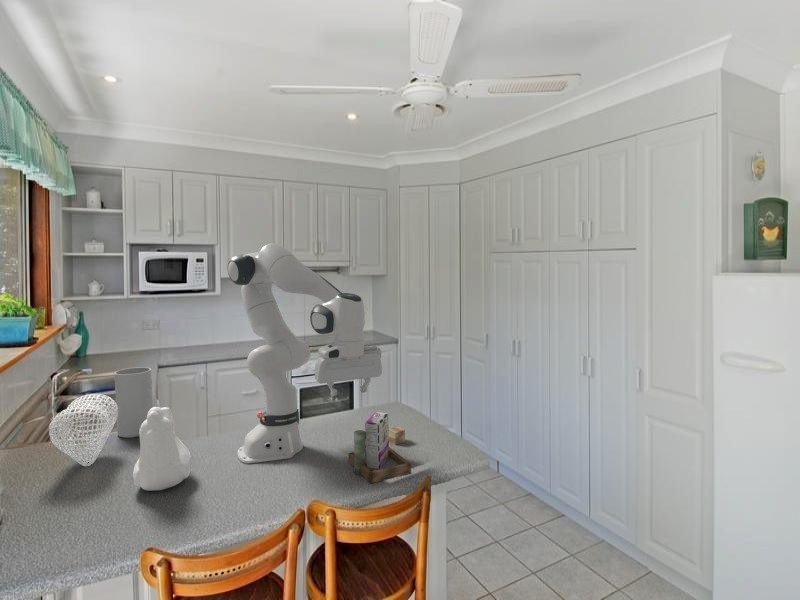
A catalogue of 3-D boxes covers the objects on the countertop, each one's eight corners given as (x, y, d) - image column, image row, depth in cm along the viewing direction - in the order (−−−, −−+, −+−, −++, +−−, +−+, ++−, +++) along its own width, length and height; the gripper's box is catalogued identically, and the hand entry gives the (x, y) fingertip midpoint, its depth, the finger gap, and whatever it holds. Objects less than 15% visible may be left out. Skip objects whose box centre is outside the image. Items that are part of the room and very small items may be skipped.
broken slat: (368, 454, 160) (368, 449, 160) (364, 450, 164) (364, 445, 163) (406, 445, 167) (406, 441, 167) (401, 442, 171) (401, 438, 170)
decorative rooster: (179, 498, 131) (175, 413, 129) (121, 501, 129) (116, 415, 127) (207, 460, 155) (204, 389, 153) (159, 462, 154) (155, 390, 152)
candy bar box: (375, 457, 157) (375, 411, 156) (389, 459, 156) (389, 412, 155) (364, 472, 146) (364, 422, 145) (379, 473, 145) (379, 423, 144)
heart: (74, 452, 163) (70, 391, 161) (124, 446, 168) (121, 387, 166) (44, 488, 136) (39, 416, 135) (104, 480, 142) (100, 410, 140)
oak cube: (395, 445, 164) (395, 432, 164) (387, 441, 168) (387, 429, 167) (405, 441, 167) (404, 430, 166) (397, 438, 170) (397, 426, 170)
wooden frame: (366, 484, 138) (365, 442, 136) (345, 462, 153) (344, 424, 152) (411, 473, 145) (410, 433, 144) (386, 453, 160) (386, 417, 159)
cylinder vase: (161, 428, 186) (158, 368, 184) (137, 439, 174) (133, 375, 172) (135, 426, 189) (132, 366, 187) (110, 437, 177) (106, 373, 175)
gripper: (377, 343, 142) (376, 386, 144) (313, 349, 133) (313, 395, 135) (385, 347, 137) (384, 392, 138) (319, 353, 127) (319, 401, 129)
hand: (349, 393), depth 136 cm, fingers open, 8 cm apart
